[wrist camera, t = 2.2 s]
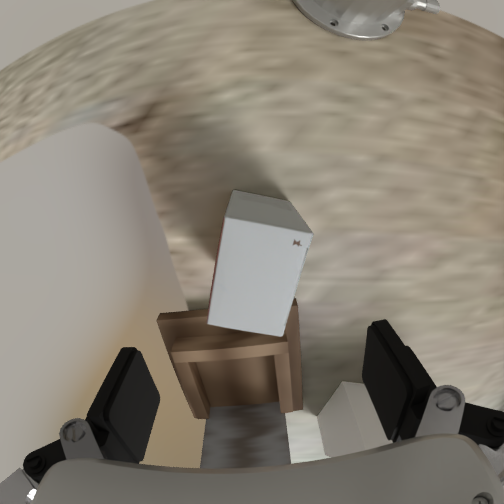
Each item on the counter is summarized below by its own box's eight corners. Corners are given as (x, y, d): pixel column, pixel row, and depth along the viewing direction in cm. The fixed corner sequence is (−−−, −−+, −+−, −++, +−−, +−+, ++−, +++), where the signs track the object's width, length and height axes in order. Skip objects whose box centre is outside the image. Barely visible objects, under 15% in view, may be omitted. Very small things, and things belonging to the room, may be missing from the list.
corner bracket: (411, 370, 35) (445, 429, 24) (372, 419, 39) (393, 476, 28) (353, 363, 34) (383, 433, 23) (316, 416, 38) (330, 482, 27)
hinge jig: (295, 298, 31) (323, 399, 17) (301, 401, 36) (316, 489, 23) (159, 313, 31) (116, 408, 18) (195, 410, 37) (182, 494, 23)
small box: (232, 188, 27) (223, 211, 17) (291, 200, 27) (316, 231, 17) (218, 267, 29) (203, 326, 20) (272, 277, 30) (283, 339, 20)
